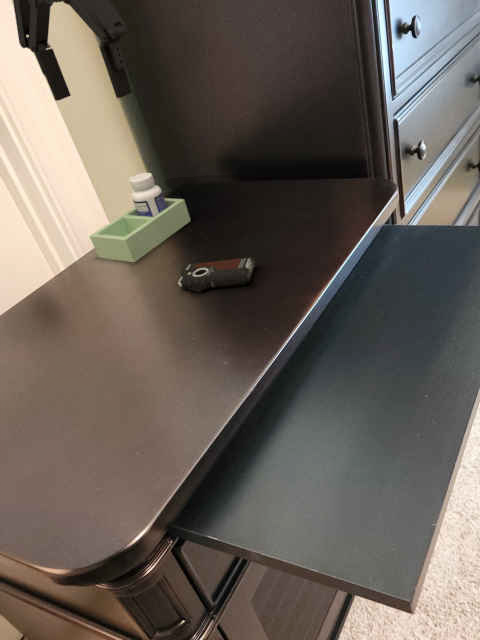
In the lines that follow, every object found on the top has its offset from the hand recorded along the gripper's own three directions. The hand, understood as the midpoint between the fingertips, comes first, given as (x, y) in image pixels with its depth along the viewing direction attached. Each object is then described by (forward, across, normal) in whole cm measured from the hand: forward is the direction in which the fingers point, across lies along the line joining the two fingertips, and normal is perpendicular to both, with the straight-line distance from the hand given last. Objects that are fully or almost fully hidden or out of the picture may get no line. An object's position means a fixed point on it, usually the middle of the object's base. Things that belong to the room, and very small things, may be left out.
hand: (92, 97), depth 82 cm
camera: (+22, -26, +12) cm, 36 cm away
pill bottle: (+22, -3, -2) cm, 22 cm away
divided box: (+22, -3, +2) cm, 23 cm away
